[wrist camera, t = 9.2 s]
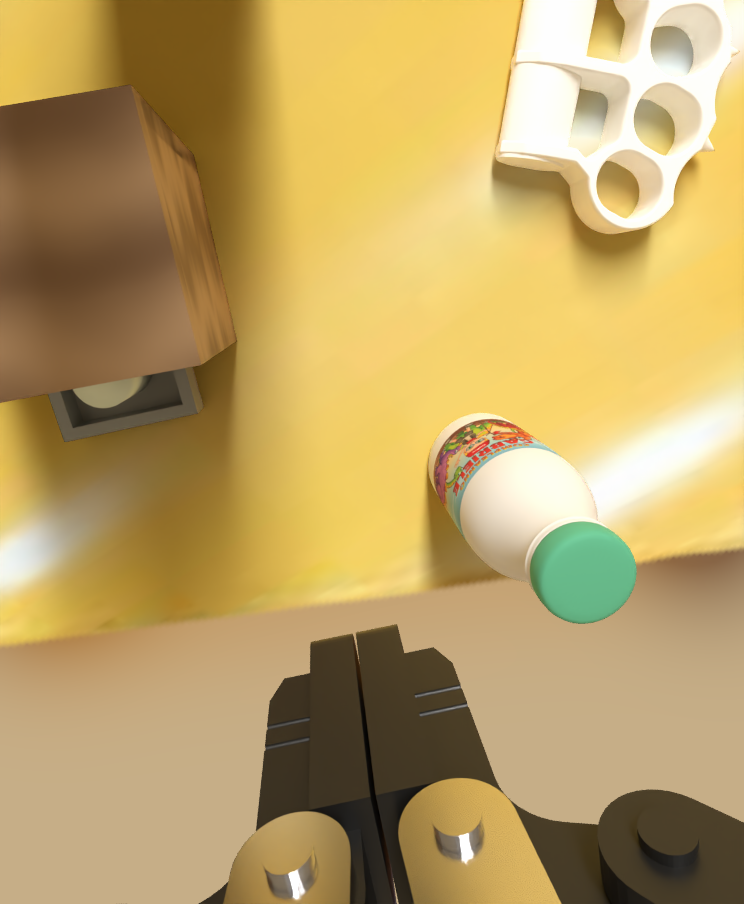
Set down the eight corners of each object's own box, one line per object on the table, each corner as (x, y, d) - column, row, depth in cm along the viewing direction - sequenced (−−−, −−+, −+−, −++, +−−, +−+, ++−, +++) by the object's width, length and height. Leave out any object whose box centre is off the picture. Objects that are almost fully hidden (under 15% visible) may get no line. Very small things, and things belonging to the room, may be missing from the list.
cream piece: (90, 348, 42) (61, 355, 37) (142, 337, 42) (121, 343, 37) (106, 400, 43) (80, 413, 38) (158, 389, 43) (138, 401, 38)
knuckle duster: (533, -92, 39) (749, -42, 40) (480, 213, 43) (677, 246, 45) (554, -127, 35) (787, -71, 37) (494, 207, 40) (705, 243, 41)
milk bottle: (547, 454, 47) (707, 567, 28) (479, 528, 48) (588, 687, 29) (474, 389, 45) (592, 463, 26) (405, 468, 47) (470, 594, 27)
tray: (20, 259, 41) (0, 257, 38) (155, 231, 41) (144, 227, 38) (79, 432, 44) (64, 442, 41) (204, 405, 44) (197, 413, 42)
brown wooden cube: (-11, 190, 39) (-183, 137, 26) (193, 154, 40) (130, 84, 26) (48, 376, 42) (-77, 417, 29) (236, 340, 43) (201, 364, 29)
